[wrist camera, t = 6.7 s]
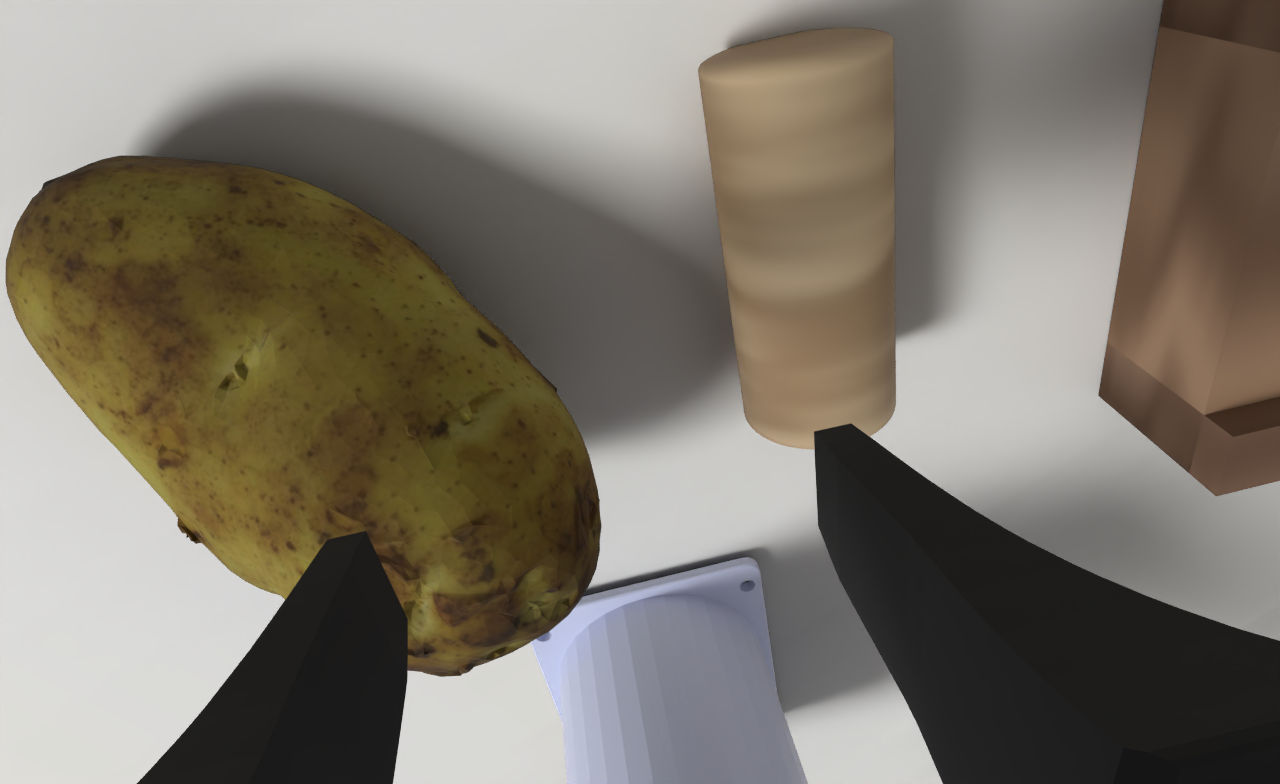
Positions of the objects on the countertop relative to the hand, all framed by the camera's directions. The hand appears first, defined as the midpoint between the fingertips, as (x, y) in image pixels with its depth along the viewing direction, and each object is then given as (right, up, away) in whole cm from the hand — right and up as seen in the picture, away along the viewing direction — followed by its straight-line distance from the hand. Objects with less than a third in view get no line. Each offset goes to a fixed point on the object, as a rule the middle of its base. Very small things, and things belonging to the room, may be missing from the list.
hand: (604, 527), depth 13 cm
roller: (+4, +7, +8) cm, 11 cm away
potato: (-6, +4, +8) cm, 11 cm away
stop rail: (+15, +8, +9) cm, 19 cm away
